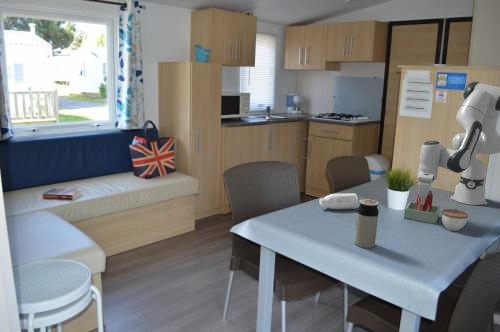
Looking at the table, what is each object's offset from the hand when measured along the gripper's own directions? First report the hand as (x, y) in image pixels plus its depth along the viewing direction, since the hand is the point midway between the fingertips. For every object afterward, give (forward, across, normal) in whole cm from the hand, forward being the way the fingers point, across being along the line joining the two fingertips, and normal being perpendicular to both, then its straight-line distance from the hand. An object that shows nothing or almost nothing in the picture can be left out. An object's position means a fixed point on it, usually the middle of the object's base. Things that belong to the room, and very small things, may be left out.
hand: (423, 202), depth 204 cm
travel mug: (+8, +52, -16) cm, 55 cm away
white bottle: (+8, +12, -38) cm, 41 cm away
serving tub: (+8, 0, 0) cm, 8 cm away
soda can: (+7, -2, 0) cm, 7 cm away
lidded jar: (+8, +9, +14) cm, 19 cm away
